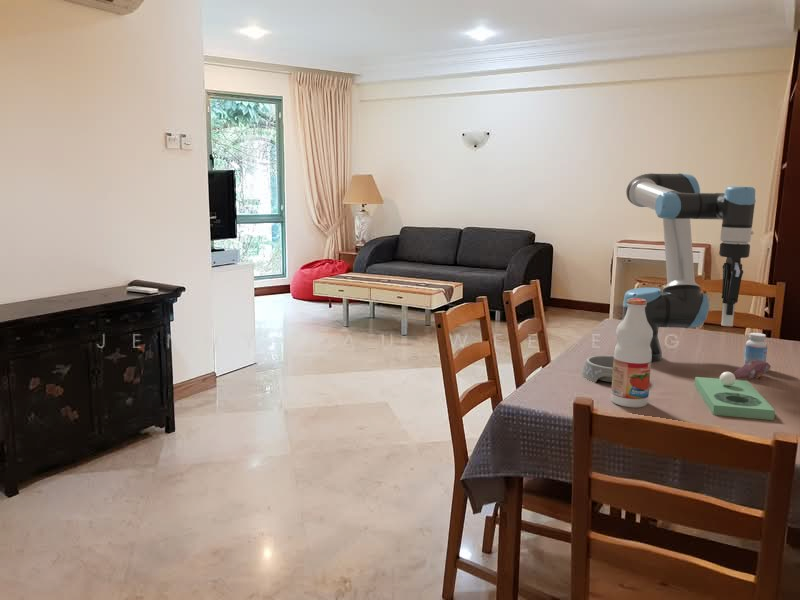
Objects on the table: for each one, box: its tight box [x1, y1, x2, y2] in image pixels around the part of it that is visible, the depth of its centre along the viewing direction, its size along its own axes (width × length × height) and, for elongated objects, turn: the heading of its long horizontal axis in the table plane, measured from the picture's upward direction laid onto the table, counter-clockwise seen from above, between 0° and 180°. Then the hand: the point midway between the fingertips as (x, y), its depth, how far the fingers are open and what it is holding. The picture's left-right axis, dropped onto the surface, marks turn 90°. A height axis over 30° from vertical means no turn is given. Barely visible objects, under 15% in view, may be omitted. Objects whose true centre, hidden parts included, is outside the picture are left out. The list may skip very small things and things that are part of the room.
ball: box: [719, 371, 737, 386], centre depth 183 cm, size 4×4×4 cm
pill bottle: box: [743, 332, 768, 366], centre depth 210 cm, size 6×6×11 cm
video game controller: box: [733, 360, 772, 380], centre depth 200 cm, size 10×5×7 cm, turn 114°
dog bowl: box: [581, 355, 614, 384], centre depth 198 cm, size 17×18×5 cm
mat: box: [693, 376, 776, 421], centre depth 178 cm, size 26×14×2 cm, turn 166°
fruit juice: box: [610, 298, 653, 409], centre depth 173 cm, size 9×9×28 cm
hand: (726, 325), depth 187 cm, fingers closed
